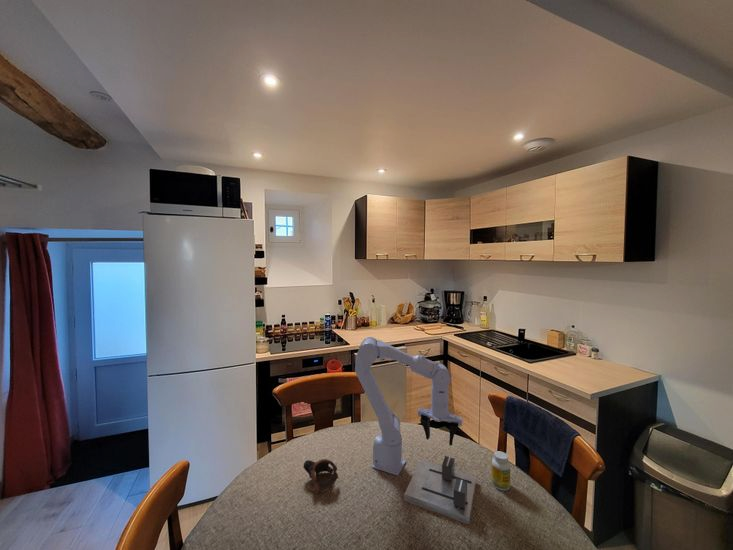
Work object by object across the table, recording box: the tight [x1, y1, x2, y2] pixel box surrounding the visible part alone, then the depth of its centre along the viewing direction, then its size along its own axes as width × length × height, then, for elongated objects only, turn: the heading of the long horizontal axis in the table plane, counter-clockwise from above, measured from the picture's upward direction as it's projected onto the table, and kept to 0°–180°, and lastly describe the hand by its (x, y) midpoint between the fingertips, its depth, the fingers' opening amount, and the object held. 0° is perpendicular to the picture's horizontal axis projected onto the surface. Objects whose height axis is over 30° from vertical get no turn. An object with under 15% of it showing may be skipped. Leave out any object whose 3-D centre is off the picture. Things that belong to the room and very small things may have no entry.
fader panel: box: [403, 459, 477, 525], centre depth 90 cm, size 18×17×2 cm
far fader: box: [441, 455, 456, 481], centre depth 94 cm, size 3×5×4 cm, turn 154°
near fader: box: [453, 479, 467, 509], centre depth 83 cm, size 3×5×4 cm, turn 154°
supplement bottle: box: [491, 450, 511, 491], centre depth 92 cm, size 5×5×10 cm
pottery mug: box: [303, 458, 339, 494], centre depth 93 cm, size 12×10×8 cm
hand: (439, 440), depth 100 cm, fingers open, 7 cm apart
